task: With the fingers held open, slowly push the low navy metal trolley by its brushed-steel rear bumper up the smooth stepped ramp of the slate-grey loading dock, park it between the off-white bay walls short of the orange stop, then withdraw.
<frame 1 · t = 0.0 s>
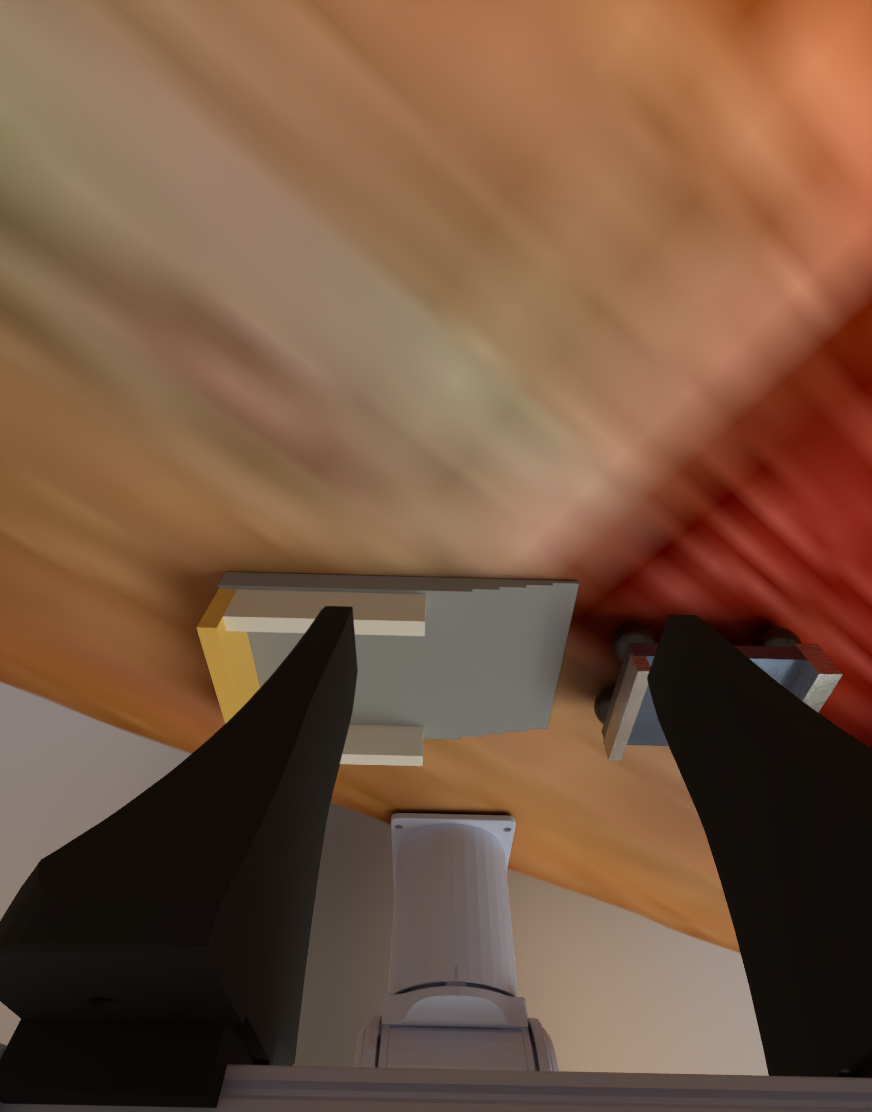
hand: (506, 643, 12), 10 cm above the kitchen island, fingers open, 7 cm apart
trolley: (683, 664, 26), on the kitchen island
loading dock: (405, 657, 26), on the kitchen island
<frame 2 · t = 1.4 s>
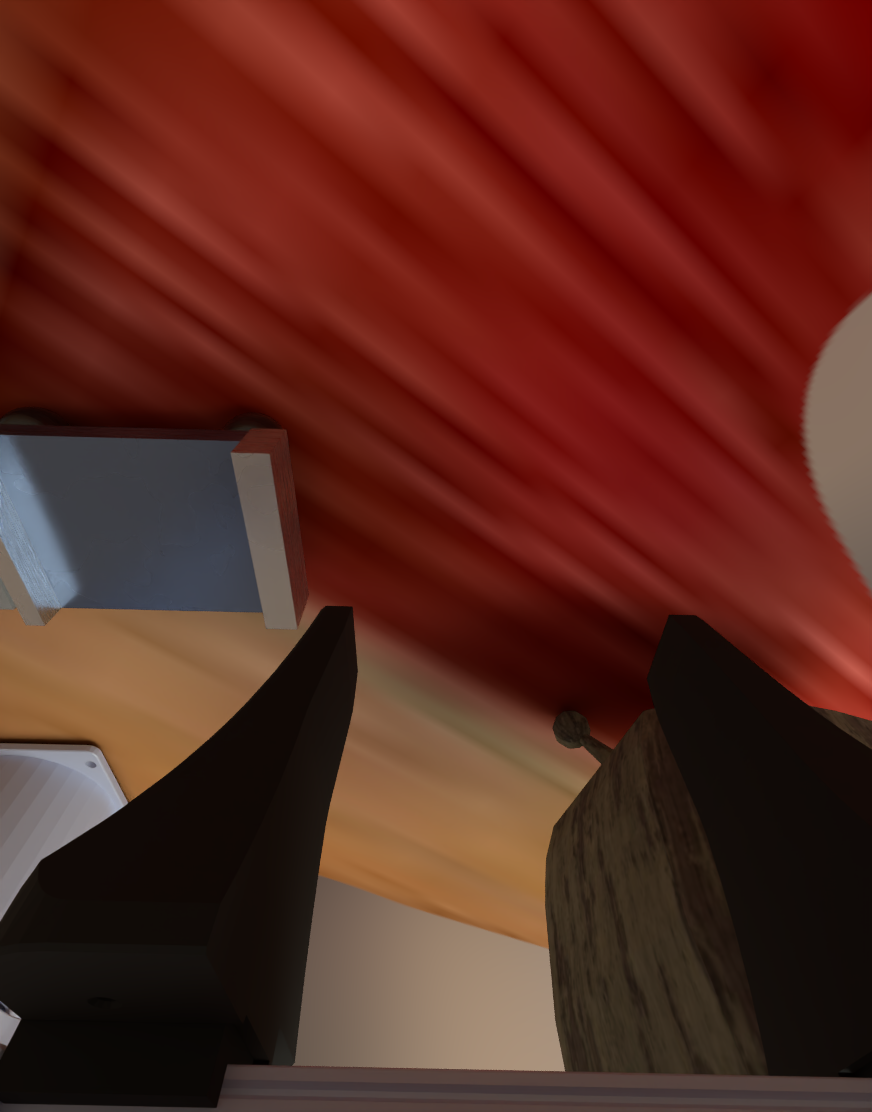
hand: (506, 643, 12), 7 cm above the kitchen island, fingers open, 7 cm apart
trolley: (177, 493, 18), on the kitchen island
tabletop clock: (701, 693, 24), on the kitchen island
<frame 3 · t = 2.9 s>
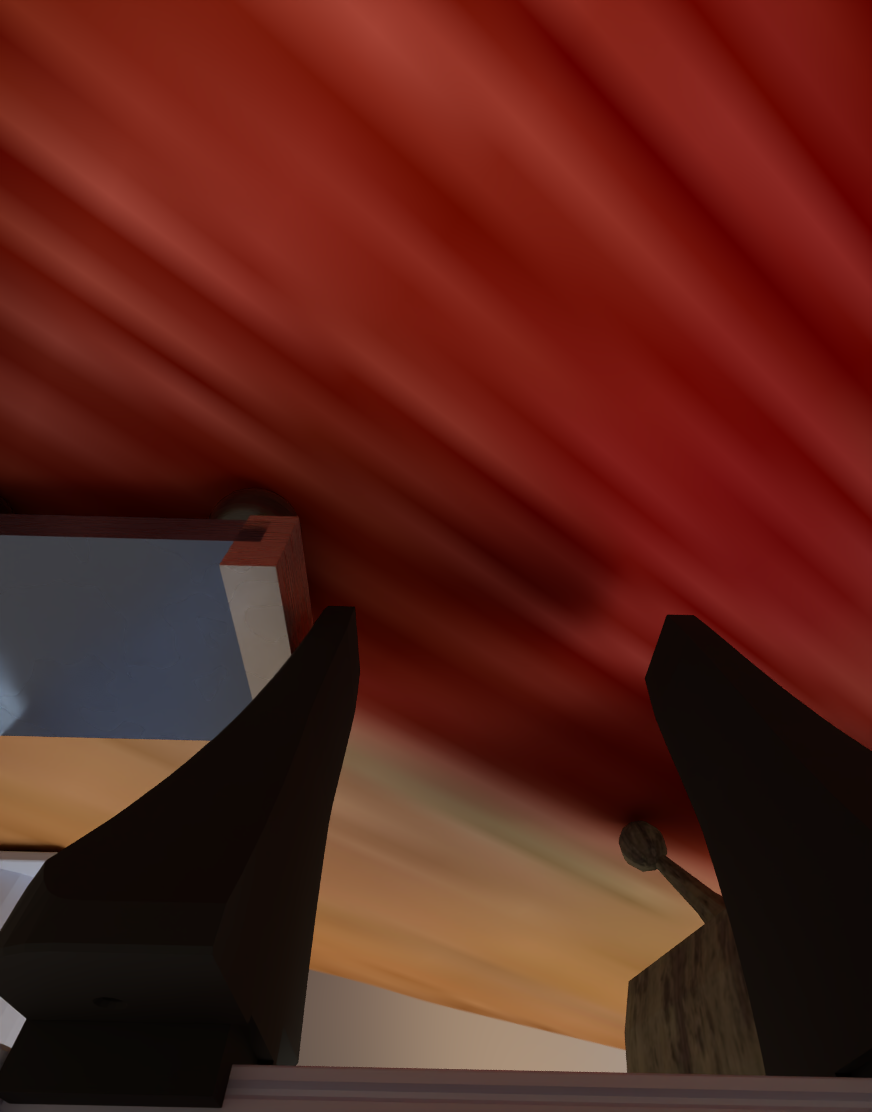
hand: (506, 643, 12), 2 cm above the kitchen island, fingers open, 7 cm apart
trolley: (154, 582, 14), on the kitchen island, touching gripper
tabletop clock: (800, 800, 19), on the kitchen island
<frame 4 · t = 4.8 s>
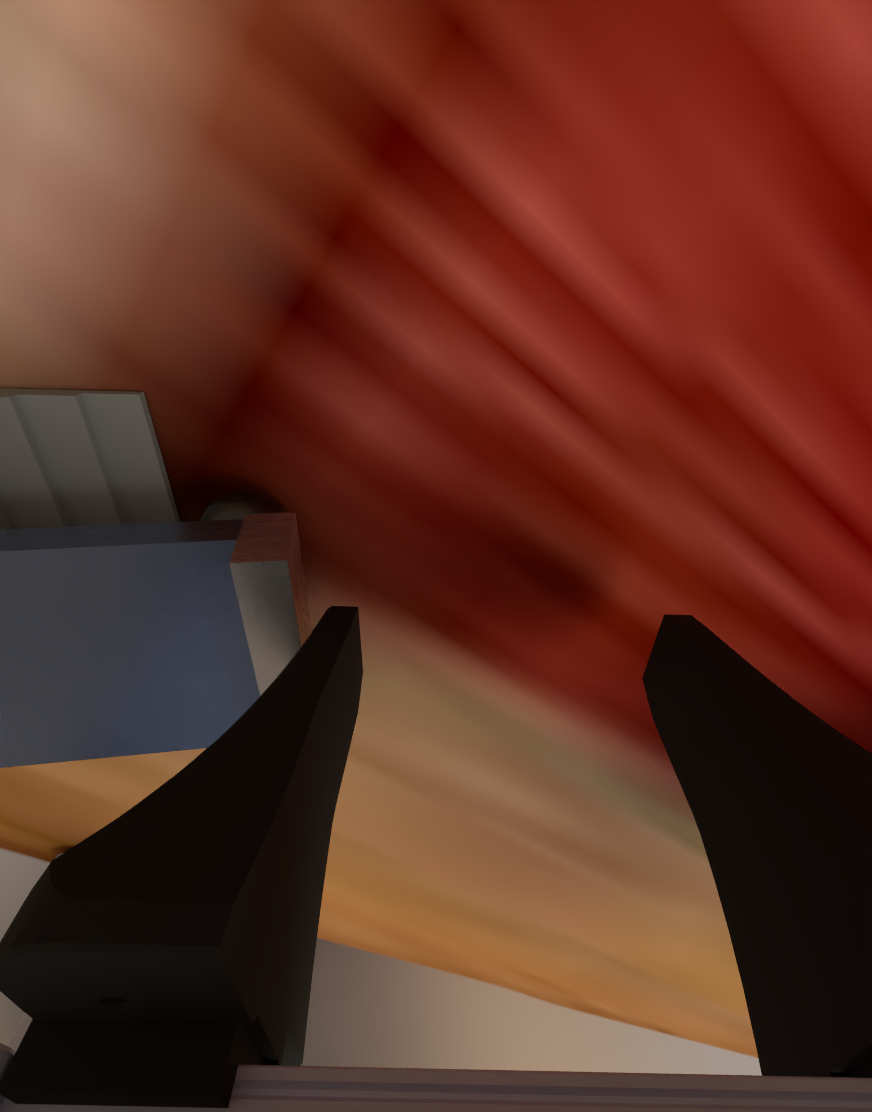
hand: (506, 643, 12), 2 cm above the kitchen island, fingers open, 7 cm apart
trolley: (133, 593, 13), on the kitchen island, tilted 8°, touching gripper, loading dock
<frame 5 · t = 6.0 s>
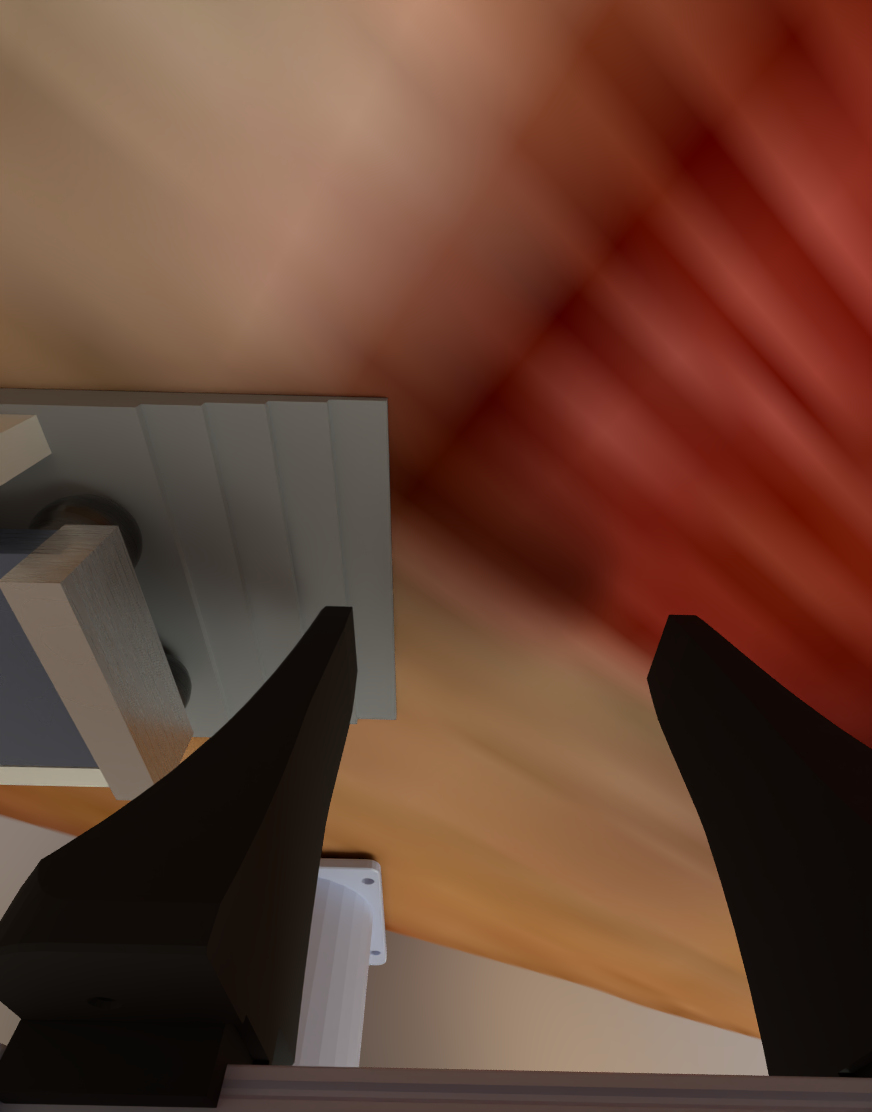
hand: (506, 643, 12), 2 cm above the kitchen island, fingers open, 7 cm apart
trolley: (5, 594, 13), point 1 cm above the kitchen island, touching loading dock
loading dock: (95, 580, 14), on the kitchen island
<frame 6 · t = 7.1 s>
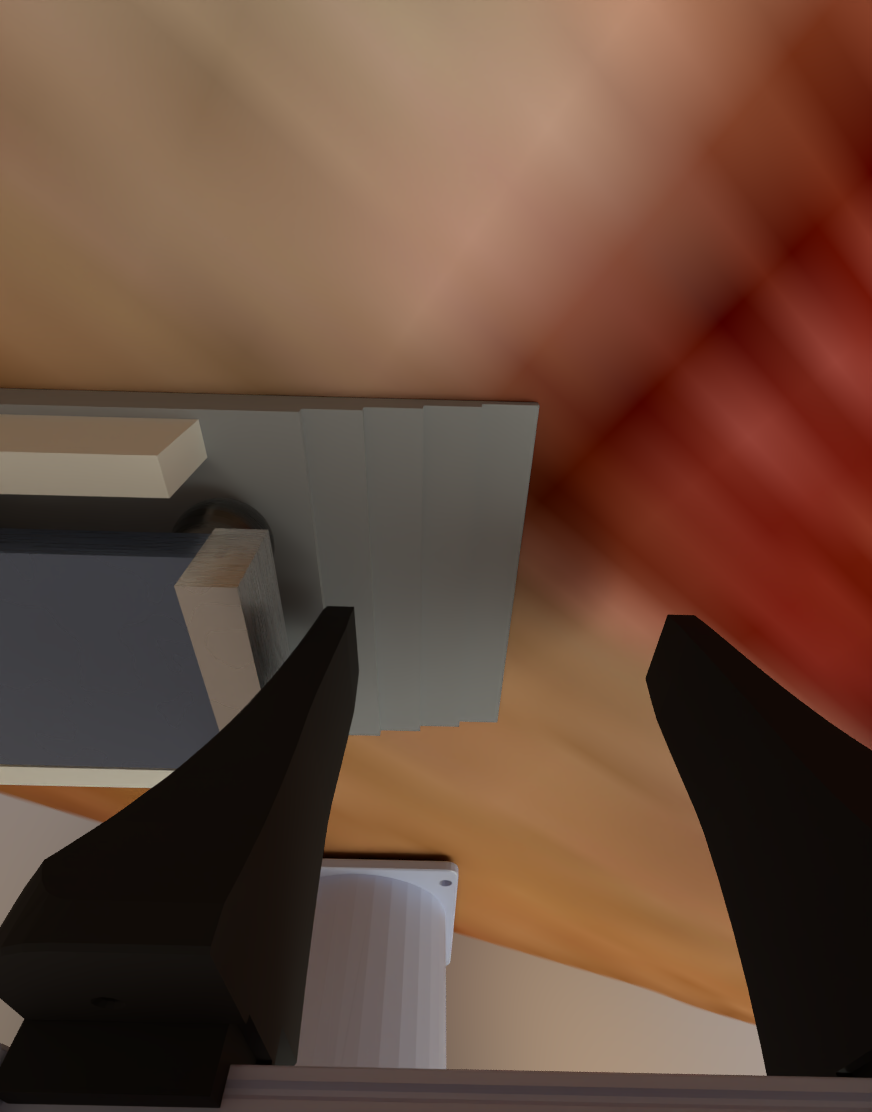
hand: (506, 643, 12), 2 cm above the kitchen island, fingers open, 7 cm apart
trolley: (120, 596, 13), point 1 cm above the kitchen island, touching gripper, loading dock
loading dock: (216, 583, 14), on the kitchen island
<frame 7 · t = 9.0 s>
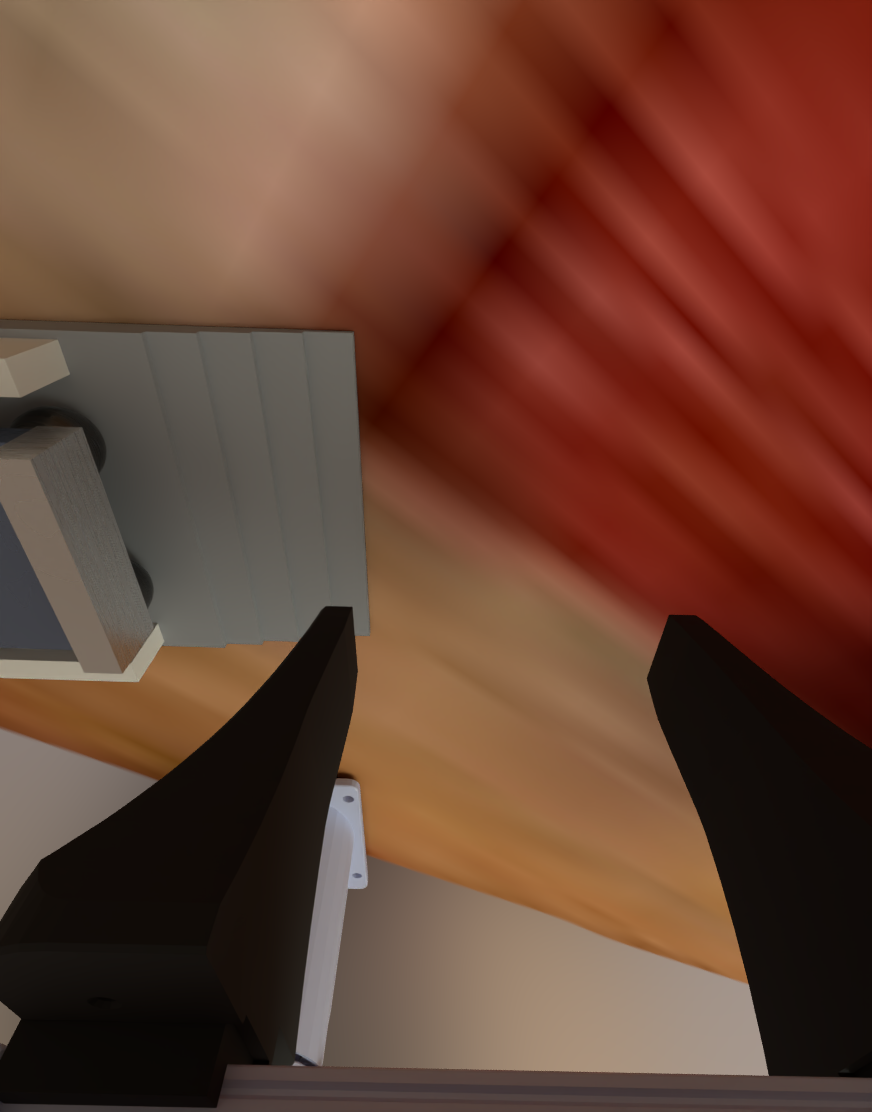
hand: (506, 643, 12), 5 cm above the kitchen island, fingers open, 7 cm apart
loading dock: (104, 499, 16), on the kitchen island
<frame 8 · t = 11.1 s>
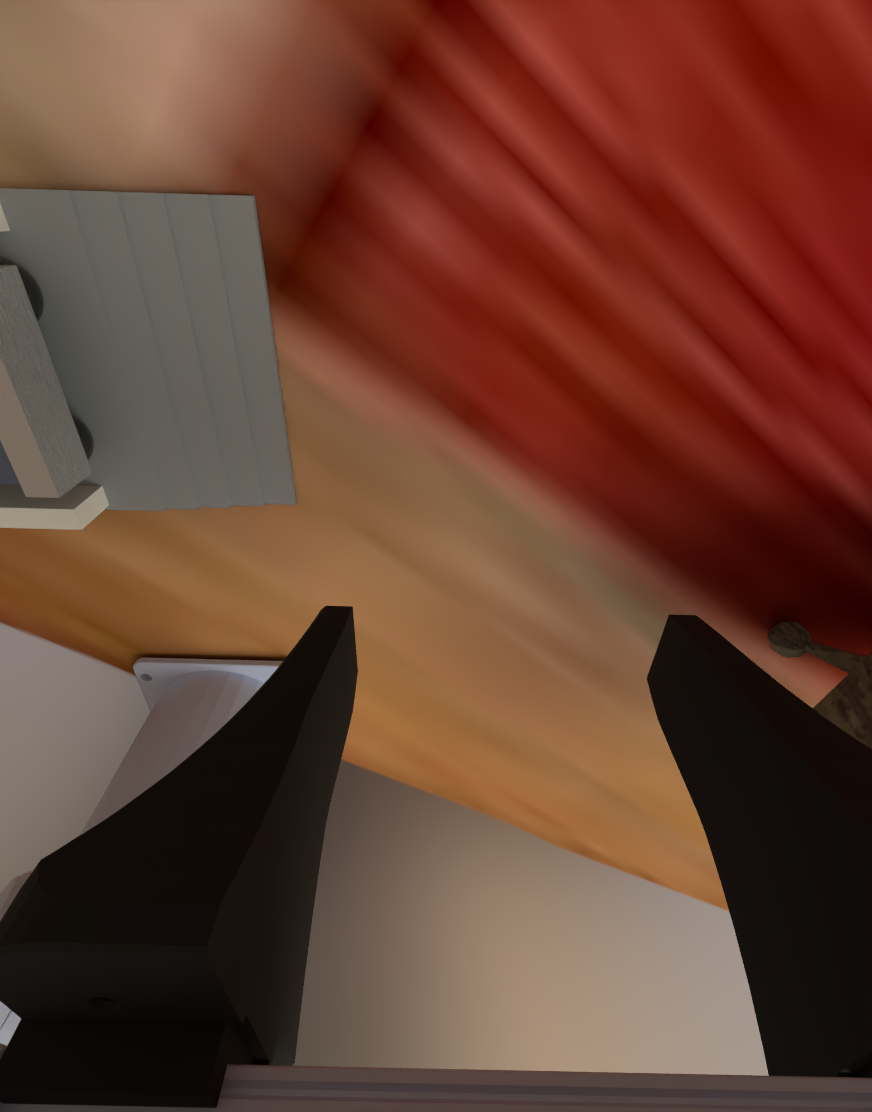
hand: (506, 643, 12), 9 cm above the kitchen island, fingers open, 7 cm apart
loading dock: (50, 366, 18), on the kitchen island
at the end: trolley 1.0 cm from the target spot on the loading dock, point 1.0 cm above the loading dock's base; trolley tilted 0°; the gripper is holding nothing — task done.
